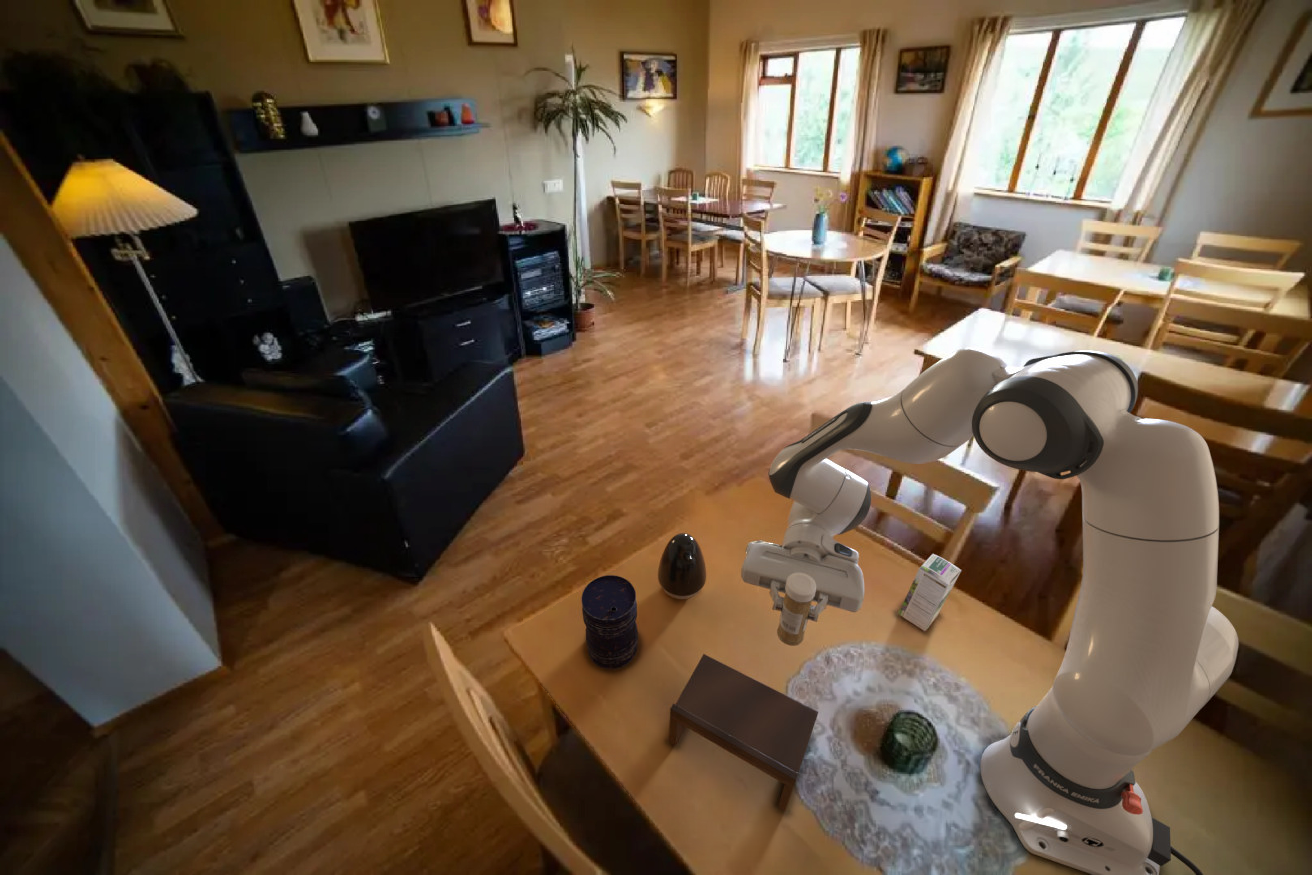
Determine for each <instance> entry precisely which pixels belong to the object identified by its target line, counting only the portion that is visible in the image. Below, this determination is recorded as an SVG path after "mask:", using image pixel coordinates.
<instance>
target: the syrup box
mask: <svg viewBox="0 0 1312 875" xmlns="http://www.w3.org/2000/svg"><path fill="white" fill-rule="evenodd" d="M961 572H962V569H960V568H959V567H957V565H954V564H953V563H952V562H950V561H948V560H946V559H945V558H943V557H941V556H939V555H937V554H934V553H932V554H931V555H930V556H929V557H928V558H927V559H926V560H925V562H923V564H921V566H920V567H919V568H918V570H917V571H916V574H915V577H914V578H913V581H912V583H911V585H910V587H909V589H908V591H907V593H906V596H905V597H904V600H903V603H902V605H901V606H900V609H899V611H898V615H899V616H901V617H902V618H904V619H905V620H907V621H908V622H909V623H912V625H914V626H916V627H917V628H919V629H921V630H922V631H923V632H926V631H927V630H928V629H929V627H930V626H931V625H932V623H933V622H934V621H935V620H936V618H937V617H938V615H939V614H940V613H941V610H942V608H943V606H944V604H945V603H946V601H947V599H948V597H949V595H950V594H951V591H952V589H953V587H954V586H955V584H956V581H957V580H958V578H959V576H960V574H961Z"/></svg>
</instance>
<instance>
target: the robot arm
mask: <svg viewBox="0 0 1312 875" xmlns="http://www.w3.org/2000/svg"><path fill="white" fill-rule="evenodd" d="M1138 395H1139V384H1138V380H1137V377H1136V375H1135V373H1134V371H1133V369H1131V366H1129V365H1128V363H1126V362H1125V361H1123V360H1122V359H1121V358H1119V357H1117V356H1115V355H1113V354H1111V353H1106V352H1103V351H1096V350H1077V351H1076V350H1075V351H1067V352H1061V353H1056V354H1052V355H1047V356H1041V357H1036V358H1035V357H1034V358H1031V359H1029V360H1027V361H1026V362H1025V364H1024V365H1023V366H1020V367H1017V366H1011V365H1009V364H1007V363H1006V362H1005V361H1004V360H1003V359H1002V358H1000V357H999V356H998V355H996V354H995V353H993V352H991V351H989V350H986V349H983V348H978V347H965V348H961V349H957V350H954V351H953V352H951V353H950V354H948V355H947V356H945V357H943V358H941V359H940V360H938V361H937V362H935V363H934V364H932V365H931V366H929V367H928V368H926V370H924V371H923V372H921V373H920V374H919V375H918V376H916V378H914V379H912V381H911V382H910V383H909V384H908V385H906V386H905V387H904V388H903V389H902V390H900V391H899V392H897V393H896V394H893V395H891V396H888V397H886V398H883V399H879V400H875V401H859V402H856V403H854V404H853V405H850V406H848V407H847V408H846V409H844V410H842V411H841V412H839V413H837V414H836V415H835V416H833V417H832V418H830V419H829V420H827V421H826V422H824V423H823V424H821V425H820V426H819V427H818V428H816V429H815V430H813V431H811V432H810V433H809V434H807V435H806V436H804V437H803V438H801V439H799V440H798V441H796V442H793V443H791V444H788V445H786V447H784V448H782V450H780V451H779V452H778V453H777V454H776V456H775V457H774V459H773V460H772V462H771V464H770V467H769V470H768V479H769V483H770V485H771V487H772V489H773V491H774V493H776V494H778V495H780V496H781V497H784V498H786V499H788V500H792V501H793V503H792V504H791V508H790V511H789V514H788V518H787V528H786V530H785V531H784V535H783V540H782V543H781V544H778V543H773V542H766V541H764V540H762V539H757V540H756V541H754V540H753V541H750V542H748V544H747V545H746V548H745V555H746V556H745V558H744V559H743V563H742V565H741V570H740V571H741V572H740V577H741V580H742V581H743V582H744V583H745V584H749V585H752V586H756V587H760V588H764V589H766V590H769V596H770V598H771V600H772V602H773V605H772V610H774V611H777V612H781V611H782V606H783V600H784V597H785V596H784V597H783V596H780V594H781V593H782V594H785V592H786V590H785V586H786V581H787V578H788V577H789V576H790V575H791V574H793V573H804V574H807V575H809V576H810V577H811V578H813V580H814V581H815V583H816V592H815V596H814V598H813V599H812V602H815V603H817V604H816V605H813V604H811V607H810V611H809V615H808V621H812V622H818V619H819V615H820V614H822V612H824V611H825V610H826V608H827V606H829V607H833V608H837V609H841V610H843V611H847V612H851V613H857V612H858V611H860V610H861V609H862V606H863V604H864V600H865V579H864V573H863V571H862V568H861V566H859V562H860V560H859V559H860V553H859V552H858V551H857V550H855V549H853V548H851V547H849V546H847V545H845V544H843V543H841V542H839V541H837V540H836V539H834V537H835V536H836V535H837V536H840V535H844V534H846V533H848V532H850V531H852V530H854V529H856V528H857V527H859V526H860V525H861V524H863V521H864V520H865V519H866V518H867V516H868V514H869V511H870V508H871V504H872V490H871V486H870V484H869V482H868V480H865V479H864V478H863V477H861V476H860V475H857V474H856V473H854V472H852V471H850V470H848V469H847V468H845V467H842V466H840V465H839V464H837V463H835V462H833V461H832V460H830V459H828V458H829V457H831V456H833V455H835V454H837V453H838V452H840V451H844V450H855V451H863V452H865V453H871V454H875V455H878V456H880V457H885V458H887V459H891V460H894V461H897V462H899V463H906V464H912V465H922V464H923V465H924V464H929V463H933V462H936V461H938V460H941V459H943V458H945V457H947V456H948V455H950V454H951V453H953V452H955V451H956V450H957V449H959V448H960V447H961V446H964V444H966V443H967V442H969V441H970V440H971V439H972V438H974V440H975V442H976V444H977V445H978V447H979V448H980V450H982V451H983V453H984V454H986V455H987V456H988V457H989V458H990V459H992V460H994V462H995V461H996V462H997V463H999V464H1001V465H1003V466H1006V467H1008V468H1012V469H1015V470H1020V471H1025V472H1033V473H1038V474H1041V475H1044V476H1045V477H1048V478H1051V479H1053V480H1068V479H1071V478H1074V477H1077V478H1078V480H1079V484H1080V487H1081V513H1082V515H1081V516H1082V518H1081V519H1082V577H1081V583H1080V589H1079V593H1078V597H1077V601H1076V606H1075V608H1074V614H1073V618H1072V623H1071V628H1070V631H1069V632H1070V633H1069V637H1068V641H1067V646H1066V649H1065V653H1064V656H1063V659H1062V662H1061V665H1060V666H1059V669H1058V671H1057V673H1056V675H1055V678H1054V679H1053V682H1052V686H1051V688H1050V689H1049V690H1048V691H1047V693H1046V694H1045V695H1044V696H1043V697H1042V699H1041V700H1040V701H1039V703H1038V704H1037V705H1035V706H1032V707H1031V708H1030V709H1029V710H1028V711H1027V712H1026V713H1025V714H1024V715H1023V716H1022V718H1021V719H1020V720H1019V721H1017V723H1016V724H1015V726H1014V727H1013V729H1012V731H1011V734H1009V735H1008V736H1006V737H1005V738H1003V739H1001V740H997V741H995V742H992V743H991V744H989V745H988V746H987V747H986V748H985V749H984V751H983V752H982V755H981V758H980V764H979V766H980V770H979V771H980V776H981V780H982V783H983V786H984V788H985V790H986V792H987V794H988V796H989V798H990V799H991V801H992V803H993V804H994V805H995V807H996V808H997V809H998V811H999V812H1000V813H1001V814H1002V815H1003V816H1004V817H1005V819H1006V820H1007V821H1008V822H1009V824H1010V825H1011V826H1012V827H1013V829H1014V831H1015V833H1016V836H1017V837H1018V839H1019V841H1020V843H1021V844H1022V846H1023V848H1025V849H1026V851H1027V852H1029V853H1031V855H1035V856H1038V857H1041V858H1044V859H1047V860H1050V861H1051V862H1055V863H1058V864H1061V865H1064V866H1066V867H1069V868H1072V869H1076V870H1078V871H1080V872H1084V873H1087V874H1090V875H1160V870H1161V868H1160V867H1163V866H1164V865H1166V864H1167V863H1169V862H1171V860H1172V856H1174V857H1175V858H1176V859H1178V861H1180V862H1182V863H1183V864H1184V865H1185V866H1187V868H1189V869H1190V870H1191V872H1193V873H1194V874H1195V875H1204V873H1203V872H1202V871H1201V869H1199V867H1198V866H1197V865H1196V864H1195V863H1194V862H1192V861H1191V860H1190V859H1189V858H1188V857H1186V856H1185V855H1184V854H1183V853H1181V852H1180V851H1178V850H1177V849H1175V848H1174V847H1173V846H1172V844H1171V827H1170V826H1168V825H1167V824H1165V823H1163V822H1161V821H1159V820H1158V819H1156V818H1154V817H1152V814H1151V810H1150V806H1149V803H1148V801H1147V798H1146V796H1145V794H1144V792H1143V789H1142V788H1141V787H1140V785H1139V784H1138V782H1137V781H1136V777H1135V776H1136V775H1135V773H1134V768H1136V767H1137V766H1138V765H1139V764H1140V763H1142V761H1144V760H1145V759H1146V758H1147V757H1148V756H1149V755H1150V754H1151V753H1152V752H1153V751H1154V750H1155V749H1157V748H1159V747H1161V746H1163V745H1165V744H1167V743H1169V742H1171V741H1172V740H1174V739H1176V738H1177V737H1179V735H1180V734H1181V733H1183V731H1184V729H1185V728H1186V727H1187V726H1188V725H1189V723H1190V722H1191V721H1192V720H1193V719H1194V717H1196V715H1197V714H1198V713H1199V712H1200V711H1201V710H1202V708H1204V707H1205V706H1206V705H1207V703H1208V702H1209V701H1210V700H1211V699H1212V697H1213V696H1214V695H1215V694H1217V692H1218V691H1219V690H1220V688H1221V687H1222V686H1223V685H1224V684H1225V683H1226V681H1227V680H1228V679H1229V678H1230V676H1231V675H1232V672H1233V670H1234V667H1235V664H1236V661H1237V656H1238V650H1239V646H1240V643H1239V642H1240V640H1239V635H1238V633H1237V631H1236V628H1235V627H1234V626H1233V624H1232V623H1231V621H1230V620H1229V619H1228V618H1227V617H1226V616H1225V615H1224V614H1223V613H1222V612H1221V611H1220V610H1218V609H1217V608H1215V607H1214V606H1213V604H1214V602H1215V600H1216V596H1217V591H1218V590H1217V589H1218V587H1217V586H1218V566H1219V565H1218V564H1219V563H1218V561H1219V538H1220V535H1219V534H1220V502H1219V491H1218V482H1217V477H1216V472H1215V467H1214V462H1213V459H1212V456H1211V452H1210V448H1209V446H1208V443H1207V442H1206V440H1205V439H1204V437H1203V436H1202V435H1201V434H1200V433H1199V432H1197V431H1196V430H1194V429H1193V428H1191V427H1189V426H1187V425H1185V424H1181V423H1178V422H1175V421H1171V420H1166V419H1159V418H1142V417H1139V416H1138V415H1137V416H1136V415H1134V414H1132V413H1131V412H1132V411H1133V409H1134V407H1135V405H1136V402H1137V399H1138ZM1066 472H1068V473H1066ZM1062 473H1065V474H1062ZM779 593H780V594H779Z"/></svg>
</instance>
